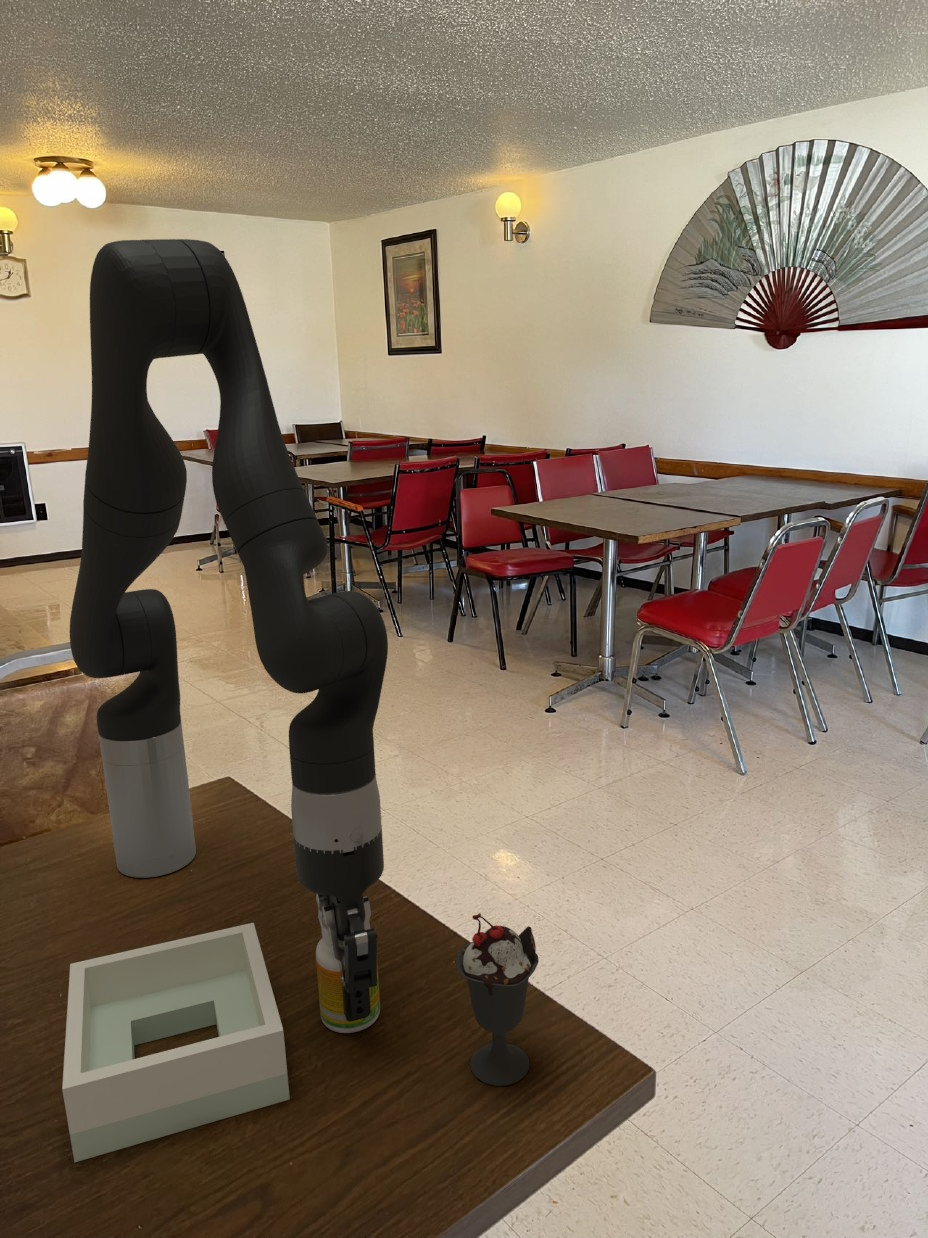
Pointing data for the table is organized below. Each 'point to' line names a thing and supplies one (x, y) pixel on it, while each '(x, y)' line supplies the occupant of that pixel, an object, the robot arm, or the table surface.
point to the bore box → (161, 1007)
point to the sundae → (498, 997)
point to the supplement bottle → (338, 990)
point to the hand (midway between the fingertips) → (349, 995)
